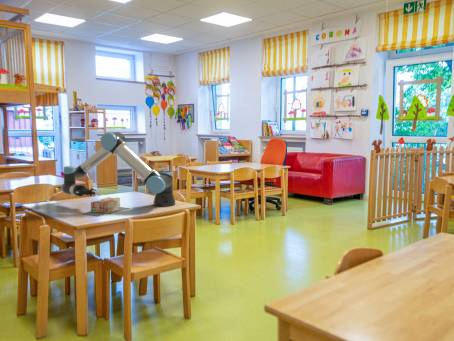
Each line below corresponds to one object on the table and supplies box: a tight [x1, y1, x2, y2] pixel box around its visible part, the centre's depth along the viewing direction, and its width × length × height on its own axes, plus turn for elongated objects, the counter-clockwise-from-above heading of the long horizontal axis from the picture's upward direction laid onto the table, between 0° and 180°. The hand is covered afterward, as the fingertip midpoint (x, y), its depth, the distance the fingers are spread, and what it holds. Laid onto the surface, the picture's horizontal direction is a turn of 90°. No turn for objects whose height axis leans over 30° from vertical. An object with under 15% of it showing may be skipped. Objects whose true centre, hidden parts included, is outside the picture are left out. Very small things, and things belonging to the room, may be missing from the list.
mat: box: [82, 206, 130, 217], centre depth 266 cm, size 13×28×1 cm, turn 150°
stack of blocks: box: [90, 197, 121, 214], centre depth 269 cm, size 21×6×12 cm
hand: (98, 193), depth 267 cm, fingers closed
